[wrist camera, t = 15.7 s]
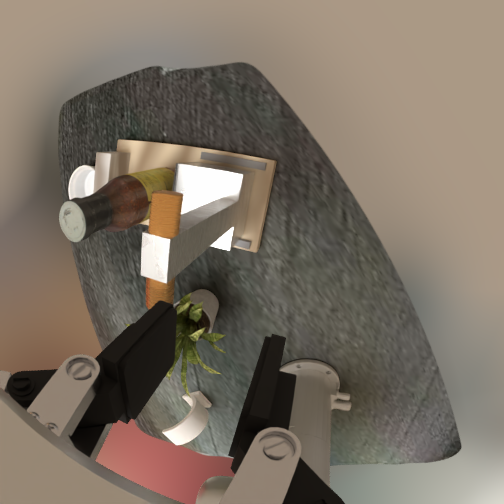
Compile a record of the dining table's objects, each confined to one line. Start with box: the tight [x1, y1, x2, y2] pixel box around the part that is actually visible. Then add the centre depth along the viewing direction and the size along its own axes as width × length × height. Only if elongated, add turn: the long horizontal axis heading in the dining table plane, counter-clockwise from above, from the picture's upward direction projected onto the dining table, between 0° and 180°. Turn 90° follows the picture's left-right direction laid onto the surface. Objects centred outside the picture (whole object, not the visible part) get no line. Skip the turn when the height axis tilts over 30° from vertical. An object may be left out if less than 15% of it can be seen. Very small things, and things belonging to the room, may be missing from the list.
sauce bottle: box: [59, 167, 175, 242], centre depth 31 cm, size 6×6×20 cm
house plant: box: [125, 289, 226, 398], centre depth 40 cm, size 14×14×16 cm
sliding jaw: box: [141, 162, 255, 309], centre depth 28 cm, size 8×9×23 cm
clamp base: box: [93, 140, 277, 252], centre depth 38 cm, size 26×13×7 cm, turn 80°
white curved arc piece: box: [162, 391, 212, 445], centre depth 50 cm, size 5×6×12 cm
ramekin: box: [69, 165, 95, 200], centre depth 43 cm, size 9×9×4 cm
